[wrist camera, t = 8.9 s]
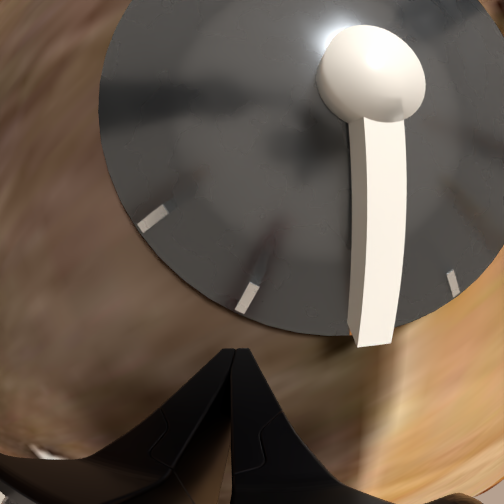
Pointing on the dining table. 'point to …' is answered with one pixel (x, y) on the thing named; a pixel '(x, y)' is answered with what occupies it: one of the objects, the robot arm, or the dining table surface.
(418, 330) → the dining table surface
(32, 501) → the robot arm
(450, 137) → the dial face
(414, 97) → the dial pointer
